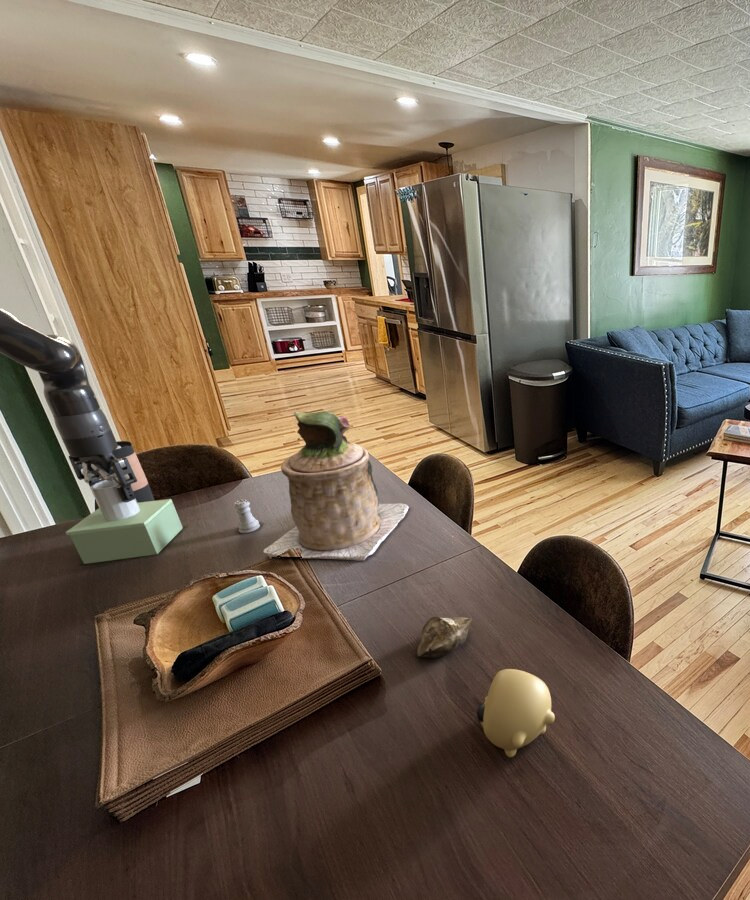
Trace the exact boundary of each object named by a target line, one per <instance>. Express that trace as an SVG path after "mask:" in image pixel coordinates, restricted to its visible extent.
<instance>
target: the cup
mask: <svg viewBox="0 0 750 900" xmlns="http://www.w3.org/2000/svg"><path fill="white" fill-rule="evenodd" d="M116 479H117V480H118V478H116ZM118 481H119V480H118ZM89 488H90V491H91V494H92V495H93V497H94V500H95V502H96V504H97V506H98V508H100V510H101V512H102V514H103V517H104V518H105V520H107V521H117V520H122V519H125V518H128V517H131V516H133V515H135V514H137V513H138V512H139V511H140V508H139V505H138V503H137V501H136V498H135V499H134V500H132V501H129V502H122V500H121V497H120V495H119V493H118V491H117V487H116V486H115V485H114V484H113V483H112V482H111V481H107V480H104V481H101V482H98V483H96V484H94V485H92V486H91V487H90V486H89Z"/></svg>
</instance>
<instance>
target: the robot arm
mask: <svg viewBox="0 0 750 900" xmlns="http://www.w3.org/2000/svg"><path fill="white" fill-rule="evenodd" d="M0 354H2V355H4V356H6V357H7V358H9V359H11V360H12V361H14V362H16V363H18V364H20V365H22V366H23V367H26V368H28V369H30V370H33V371H36V372H38V375H39V377H40V380H41V382H42V384H43V396H44V399H45V402H46V404H47V406H48V408H49V411H50V412H51V414H52V417H53V420H54V424H55V427H56V430H57V431H58V434H59V436H60V438H61V440H62V443H63V444H64V447H65V449H66V451H67V453H68V459H69V461H70V464H71V466H72V468H73V471H74V473H75V475H76V477H77V479H78V480H80V481H82V480H83V481H84V483H86V484H88V486H89V488H90V487H91V486H92V485H94V484H96V483H98V482H101V481H103V480H102V479H101V477H102V476H103V477H104V478H105V479H106V480H107V481H111V482H112V483H113V484H114V485H115V486H116V487H117V491H118V493H119V495H120V497H121V500H122V502H129V501H132V500H134V499H135V498H136V497H135V494H134V492H133V490H132V487H131V484H132V483H135V482H137V479H136V477H135V474H134V472H133V470H132V468H131V466H130V463H129V461H128V459H127V458H126V457H124V458H120V459H117V458H116V457H115V456H114V454H113V451H114V449H116V448H117V447H118V444H117V442H118V441H117V439H116V438H115V437H116V436H115V435H114V432H113V429H112V427H111V425H110V423H109V420H108V418H107V416H106V415H105V413H104V411H103V410H102V408H101V405H100V404H99V401H98V398H97V396H96V394H95V392H94V390H93V389H92V386H91V384H90V381H89V378H88V372H87V370H86V366H85V363H84V360H83V356H82V354H81V353H80V350H79V349H78V347H77V346H76V344H75V343H73V342H72V341H71V340H70V339H68V338H65V337H64V336H60V335H57V334H45V333H42V332H40V331H39V330H36V329H35V328H32V327H31V326H29V325H27V324H25V323H22V322H21V321H20V320H19V318H18V317H17V316H15V315H14V314H12V313H11V312H9V311H7V310H5V309H3V308H0ZM114 473H115V474H114ZM111 474H112V475H111ZM126 474H128V476H129V477H128V476H127V475H126ZM116 478H118V480H119V481H118V480H117V479H116Z"/></svg>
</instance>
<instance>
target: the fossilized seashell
mask: <svg viewBox="0 0 750 900" xmlns="http://www.w3.org/2000/svg"><path fill="white" fill-rule="evenodd" d="M472 621H473V619H472V618H470V617H463V616H453V617H452V616H449V617H441V616H432V617H430V618H429V619H428V620H426V622H425V624H424V625H423V626H422V627H423V628H422V630H421V635H420V636H421V637H420V640H419V644H418V647H417V648H416V656H417V657H420V658H421V657H423V658H428V659H429V658H430V659H437V658H442V657H445V656H447V655H449V654H451V653H453V652H454V651H455V650H456V649H457V648H458V647H460V646H462V645H463V644H464V642H466V640H467V637H468V632H469V628H470V625H471V623H472Z"/></svg>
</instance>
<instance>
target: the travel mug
mask: <svg viewBox="0 0 750 900" xmlns="http://www.w3.org/2000/svg"><path fill="white" fill-rule="evenodd" d="M116 442H117V444H118V447H117V448H116V449H114V451H113V454H114V456H115V457H116V458H117V459H120V458H124V457H126V458H127V459H128V461H129V463H130V466H131V468H132V470H133V472H134V474H135V477H136V479H137V482H135V483H132V484H131V487H132V490H133V492H134V494H135V497H136V501H137V503H140V502H149V501H156V500H155V497H154V495H153V491H152V490H151V487H150V484H149V482H148V479H147V477H146V474H145V472H144V470H143V467H142V464H141V463H140V460H139V458H138V456H137V453H136V451H135V449H134V447H133V444H132V442H130V441H128V440H121V441H120V440H119V441H116ZM114 474H115V473H114ZM111 475H112V474H111ZM126 475H127V476H128V474H126ZM128 477H129V476H128ZM100 480H103V481H104V480H106V479H105V478H104V477H103V476H102V477H101V479H100Z"/></svg>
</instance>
